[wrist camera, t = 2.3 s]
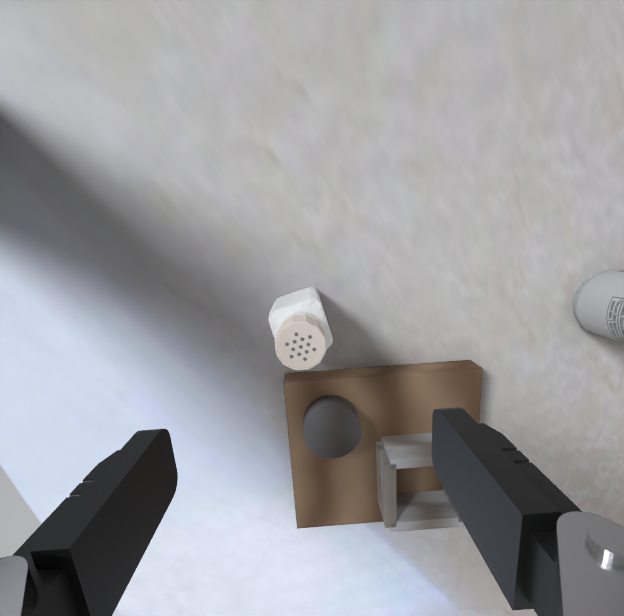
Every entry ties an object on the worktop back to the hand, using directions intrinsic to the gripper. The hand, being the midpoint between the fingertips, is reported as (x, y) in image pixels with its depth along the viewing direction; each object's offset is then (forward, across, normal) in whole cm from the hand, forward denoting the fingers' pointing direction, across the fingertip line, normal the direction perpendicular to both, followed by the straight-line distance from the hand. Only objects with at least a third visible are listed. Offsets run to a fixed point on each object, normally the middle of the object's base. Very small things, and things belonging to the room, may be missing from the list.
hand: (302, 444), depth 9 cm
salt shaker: (+19, 0, 0) cm, 19 cm away
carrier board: (+19, -7, +14) cm, 24 cm away
